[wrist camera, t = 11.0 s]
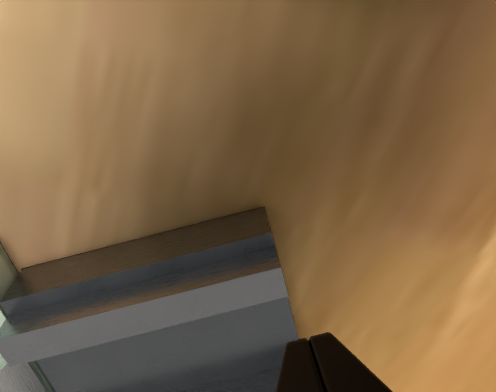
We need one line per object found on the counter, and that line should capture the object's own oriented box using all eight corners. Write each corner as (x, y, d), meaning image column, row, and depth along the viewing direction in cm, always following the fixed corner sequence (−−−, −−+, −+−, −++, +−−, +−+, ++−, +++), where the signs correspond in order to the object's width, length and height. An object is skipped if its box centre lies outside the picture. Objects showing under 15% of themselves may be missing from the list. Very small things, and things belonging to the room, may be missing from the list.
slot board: (264, 206, 20) (277, 251, 16) (301, 355, 24) (318, 417, 21) (22, 268, 20) (-18, 327, 17) (101, 405, 24) (83, 476, 21)
